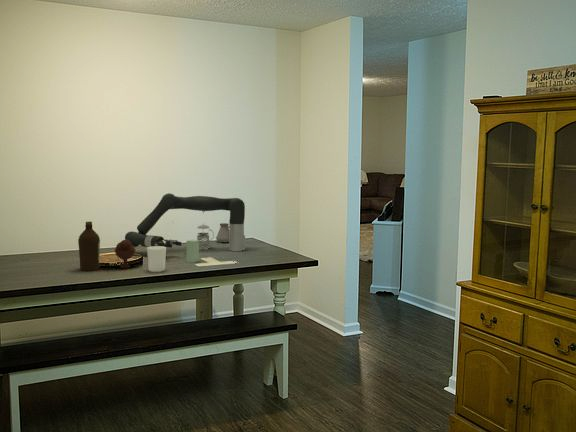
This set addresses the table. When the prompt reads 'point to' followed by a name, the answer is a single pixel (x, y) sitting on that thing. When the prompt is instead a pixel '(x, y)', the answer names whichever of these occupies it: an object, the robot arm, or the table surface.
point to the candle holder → (156, 258)
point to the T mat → (213, 262)
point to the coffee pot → (223, 233)
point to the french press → (204, 237)
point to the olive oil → (89, 249)
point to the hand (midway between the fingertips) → (176, 244)
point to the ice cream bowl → (125, 252)
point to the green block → (193, 251)
